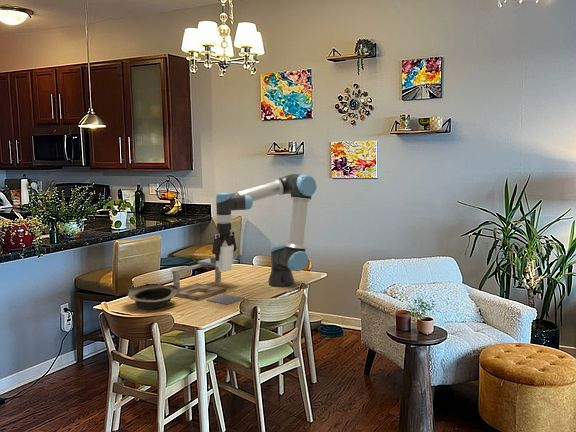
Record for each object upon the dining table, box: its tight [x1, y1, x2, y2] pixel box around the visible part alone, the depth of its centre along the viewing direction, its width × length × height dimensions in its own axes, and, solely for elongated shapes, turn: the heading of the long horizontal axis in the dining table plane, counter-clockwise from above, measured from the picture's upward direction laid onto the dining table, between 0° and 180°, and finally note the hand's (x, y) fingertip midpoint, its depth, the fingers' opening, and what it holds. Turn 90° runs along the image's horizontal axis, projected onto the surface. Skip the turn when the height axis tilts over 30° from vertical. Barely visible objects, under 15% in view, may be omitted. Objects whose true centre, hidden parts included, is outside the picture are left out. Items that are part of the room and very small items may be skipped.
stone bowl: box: [127, 283, 178, 311], centre depth 277 cm, size 25×25×9 cm
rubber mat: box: [206, 293, 246, 305], centre depth 287 cm, size 14×14×1 cm
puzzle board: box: [171, 263, 227, 302], centre depth 307 cm, size 22×39×14 cm, turn 146°
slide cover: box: [197, 256, 240, 267], centre depth 314 cm, size 18×14×4 cm
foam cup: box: [219, 243, 234, 272], centre depth 284 cm, size 10×9×13 cm
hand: (225, 265), depth 285 cm, fingers closed on foam cup, 9 cm apart
